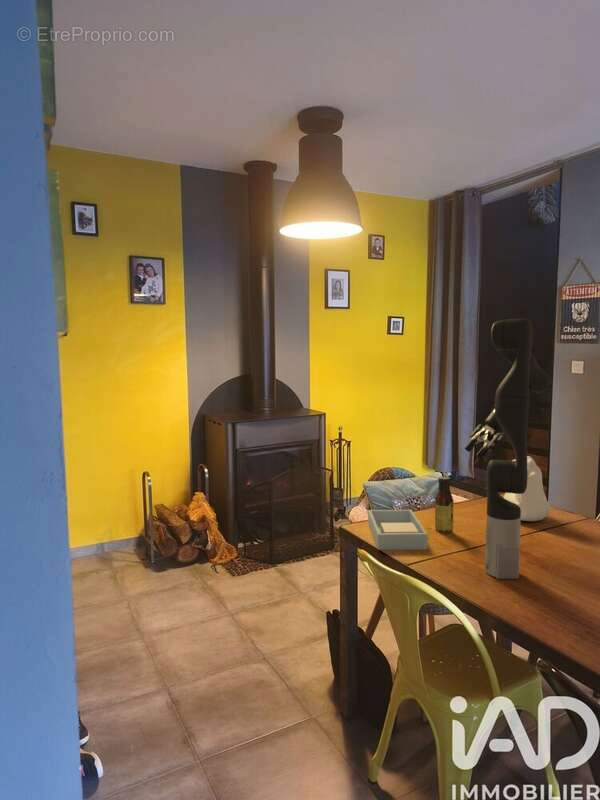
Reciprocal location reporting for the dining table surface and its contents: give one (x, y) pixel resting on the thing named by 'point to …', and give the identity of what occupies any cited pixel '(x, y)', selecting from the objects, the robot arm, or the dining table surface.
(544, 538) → the dining table surface
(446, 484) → the sauce bottle
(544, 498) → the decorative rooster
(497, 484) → the robot arm
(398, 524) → the tan rectangular block
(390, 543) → the tote
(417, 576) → the dining table surface
